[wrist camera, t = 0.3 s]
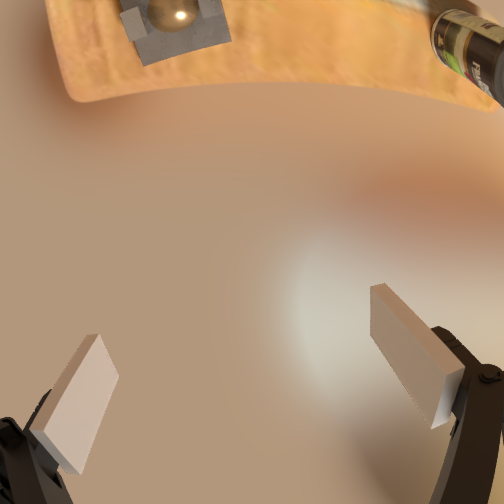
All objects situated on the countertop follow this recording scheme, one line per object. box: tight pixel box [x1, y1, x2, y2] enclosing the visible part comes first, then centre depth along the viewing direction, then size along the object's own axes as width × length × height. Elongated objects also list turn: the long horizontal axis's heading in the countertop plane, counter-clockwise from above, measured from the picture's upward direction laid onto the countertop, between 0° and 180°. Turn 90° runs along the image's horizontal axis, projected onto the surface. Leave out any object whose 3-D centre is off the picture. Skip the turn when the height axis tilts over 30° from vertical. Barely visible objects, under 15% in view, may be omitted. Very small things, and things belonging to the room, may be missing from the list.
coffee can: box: [431, 9, 504, 107], centre depth 25 cm, size 10×10×14 cm
